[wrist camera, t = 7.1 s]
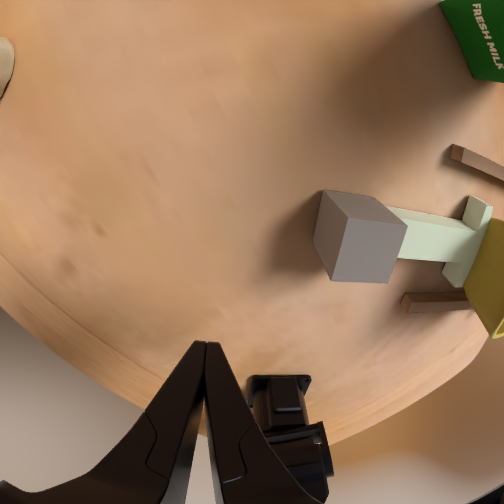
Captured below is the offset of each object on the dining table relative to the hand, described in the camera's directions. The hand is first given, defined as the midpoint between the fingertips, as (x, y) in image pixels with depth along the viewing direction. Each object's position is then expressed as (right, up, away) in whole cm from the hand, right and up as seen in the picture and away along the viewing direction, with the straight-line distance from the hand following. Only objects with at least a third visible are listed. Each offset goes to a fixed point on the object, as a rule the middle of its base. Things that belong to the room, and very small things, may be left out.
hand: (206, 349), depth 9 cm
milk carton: (+20, +22, +3) cm, 30 cm away
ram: (+14, +5, +11) cm, 19 cm away
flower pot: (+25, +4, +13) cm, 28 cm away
